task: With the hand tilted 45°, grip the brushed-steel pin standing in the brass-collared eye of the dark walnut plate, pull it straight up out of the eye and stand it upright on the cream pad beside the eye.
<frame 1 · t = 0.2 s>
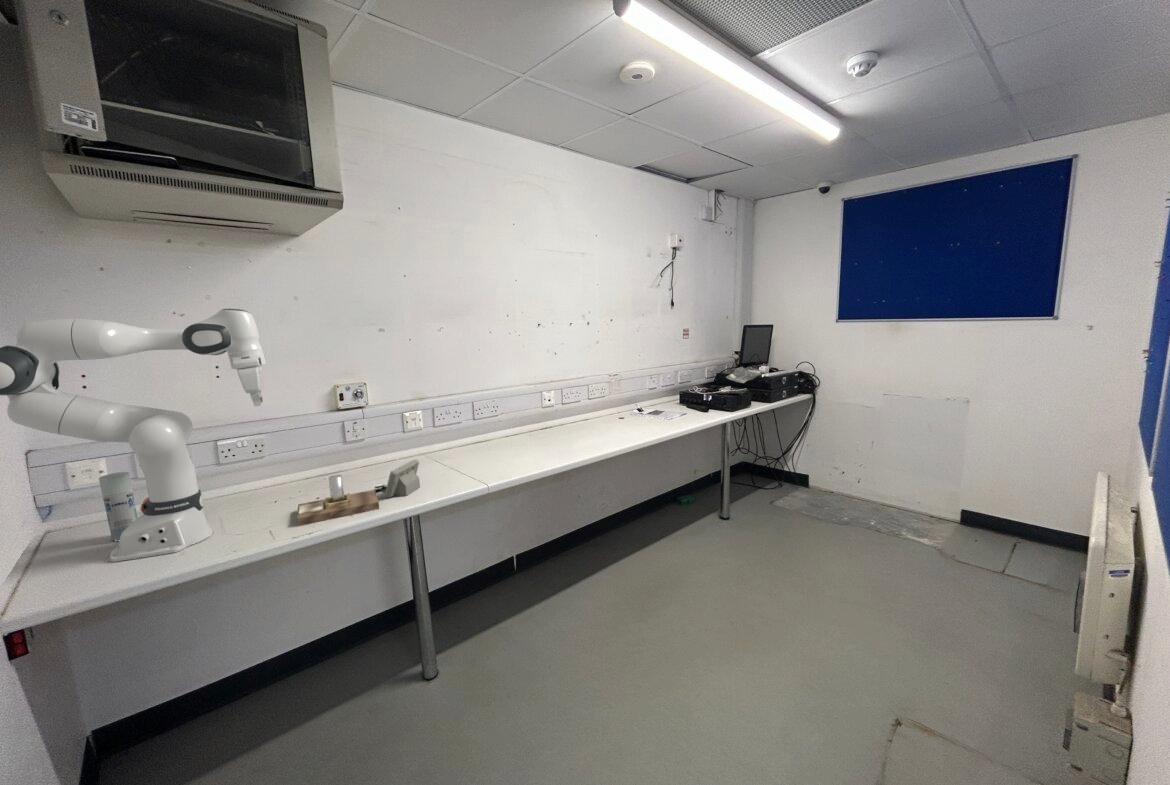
hand: (258, 404, 143), 39 cm above the table, tool pointing down, fingers open, 8 cm apart
digital clock: (403, 491, 173), on the table
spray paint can: (126, 537, 141), on the table
steel pin: (339, 510, 157), resting in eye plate
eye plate: (339, 509, 157), on the table
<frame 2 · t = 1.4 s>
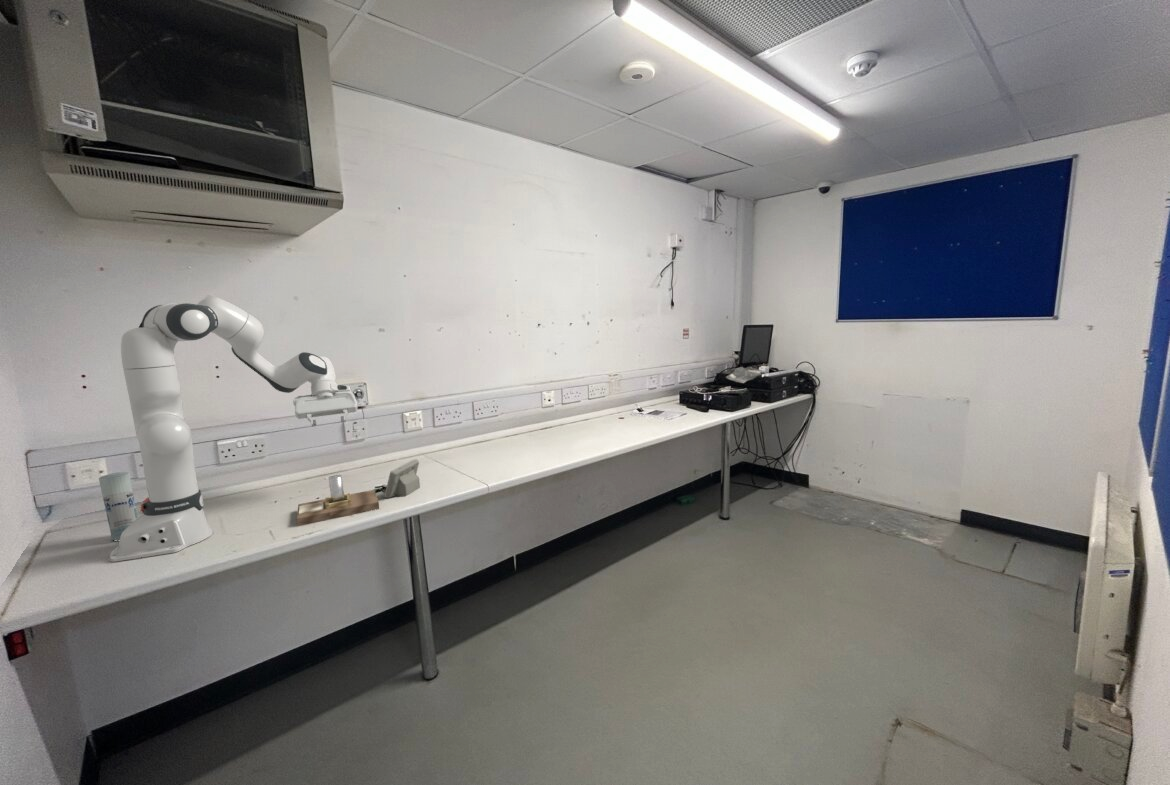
hand: (328, 423, 165), 28 cm above the table, tool tilted 45°, fingers open, 8 cm apart
nothing on the table moved.
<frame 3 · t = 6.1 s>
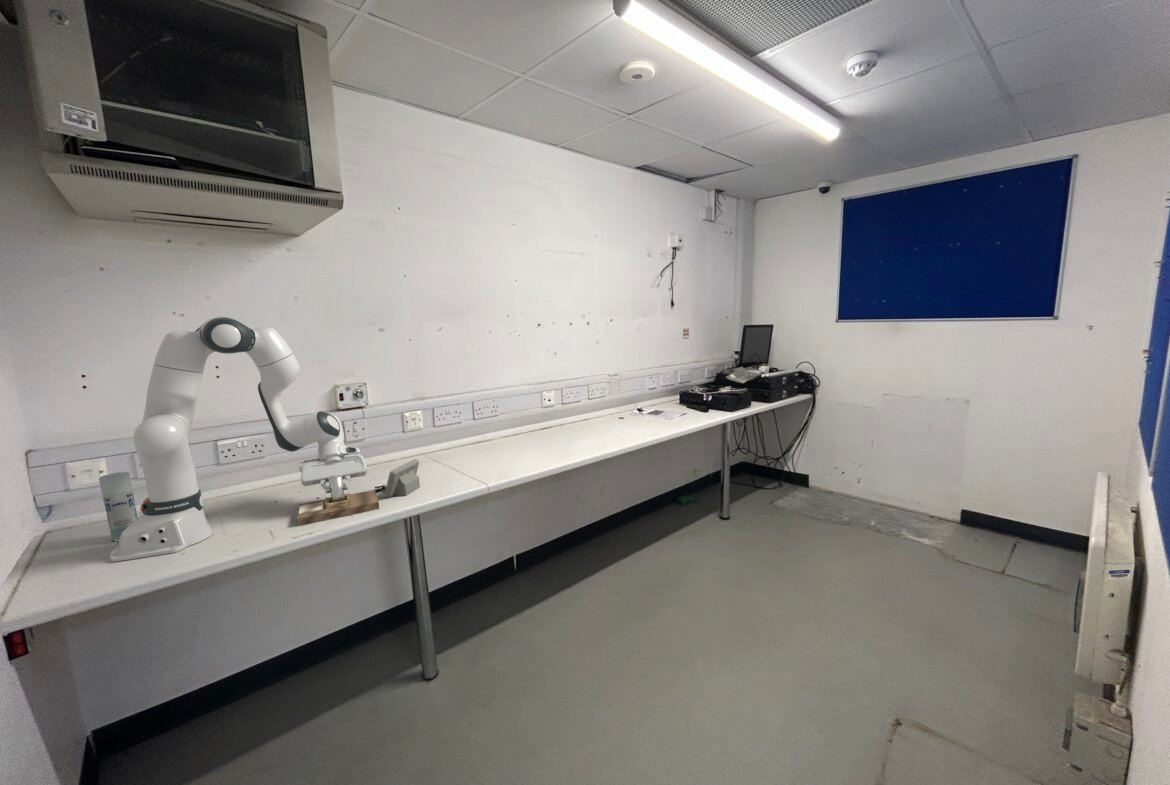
hand: (336, 490, 155), 7 cm above the table, tool tilted 45°, fingers closed on steel pin, 4 cm apart
steel pin: (339, 510, 157), resting in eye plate, touching gripper
everything else where it was.
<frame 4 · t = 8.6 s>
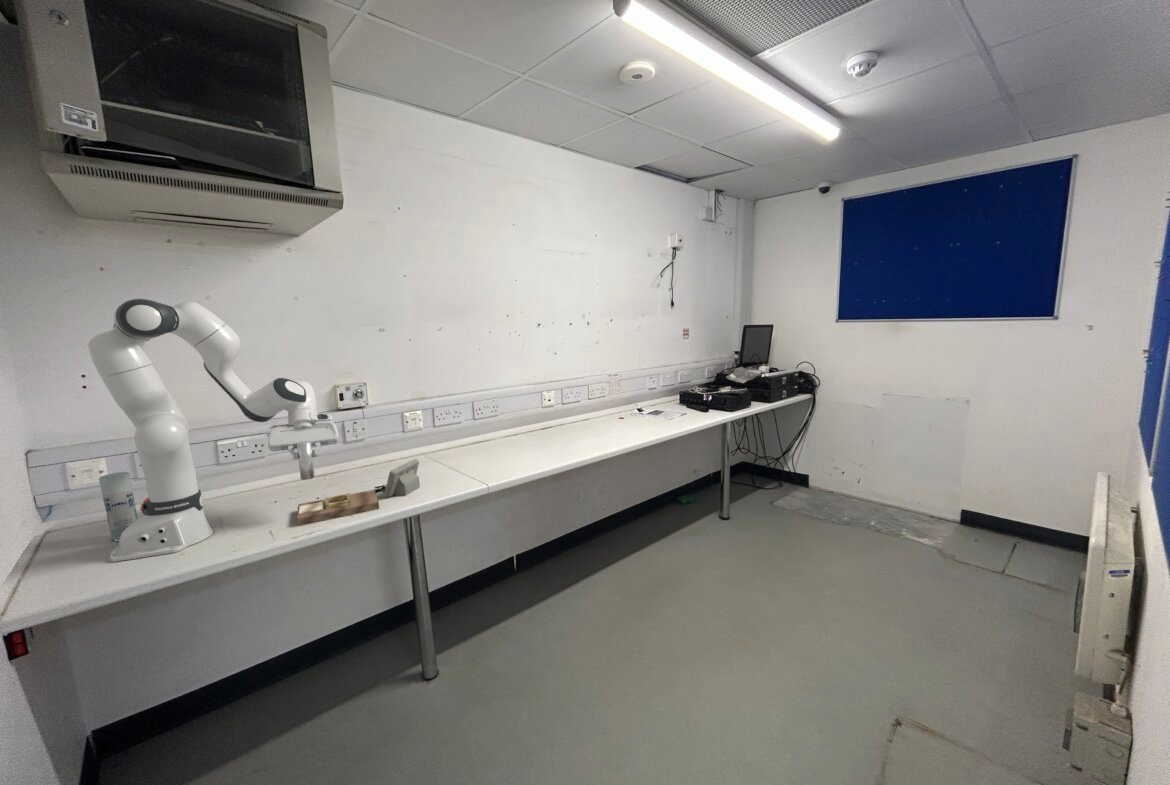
hand: (305, 457, 149), 21 cm above the table, tool tilted 45°, fingers closed on steel pin, 4 cm apart
steel pin: (307, 477, 151), point 13 cm above the table, touching gripper
everything else where it was.
when the fingers open (12 cm above the table, at t = 11.4 s): steel pin drops 1 cm, resting on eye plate.
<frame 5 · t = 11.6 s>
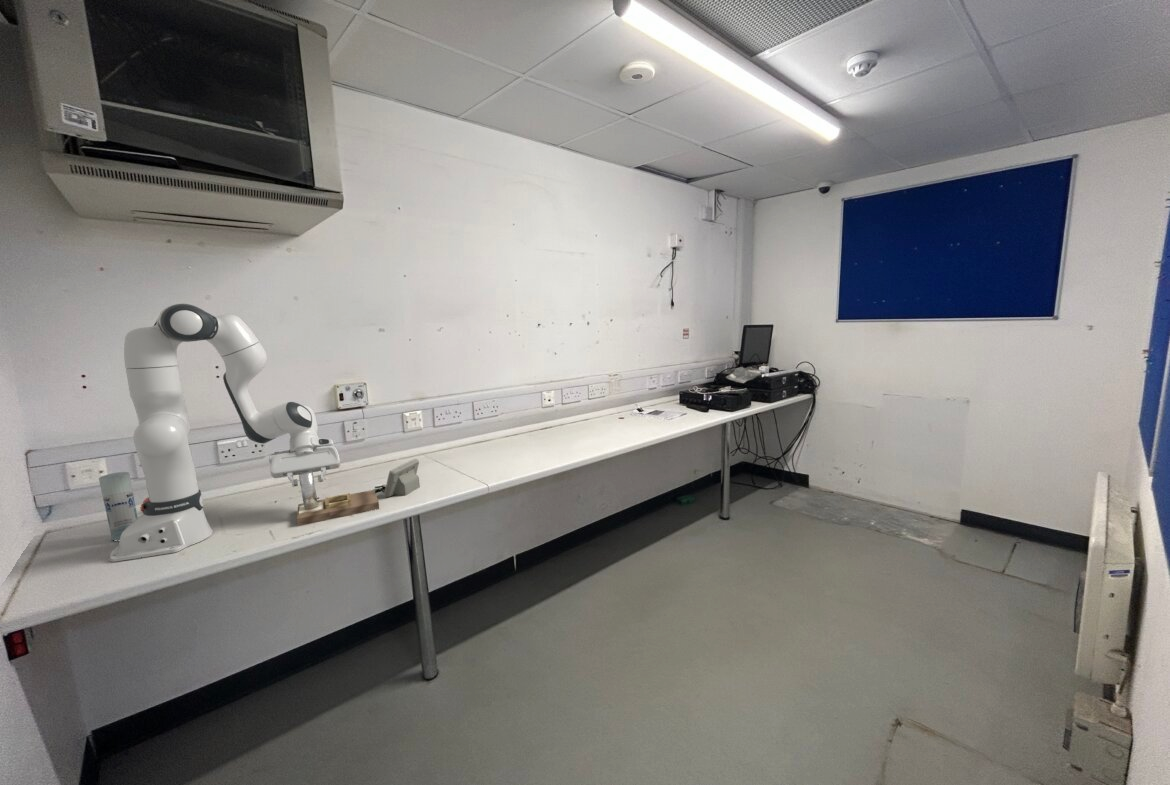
hand: (308, 483, 150), 12 cm above the table, tool tilted 45°, fingers open, 6 cm apart
steel pin: (311, 507, 152), point 3 cm above the table, touching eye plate
everything else where it was.
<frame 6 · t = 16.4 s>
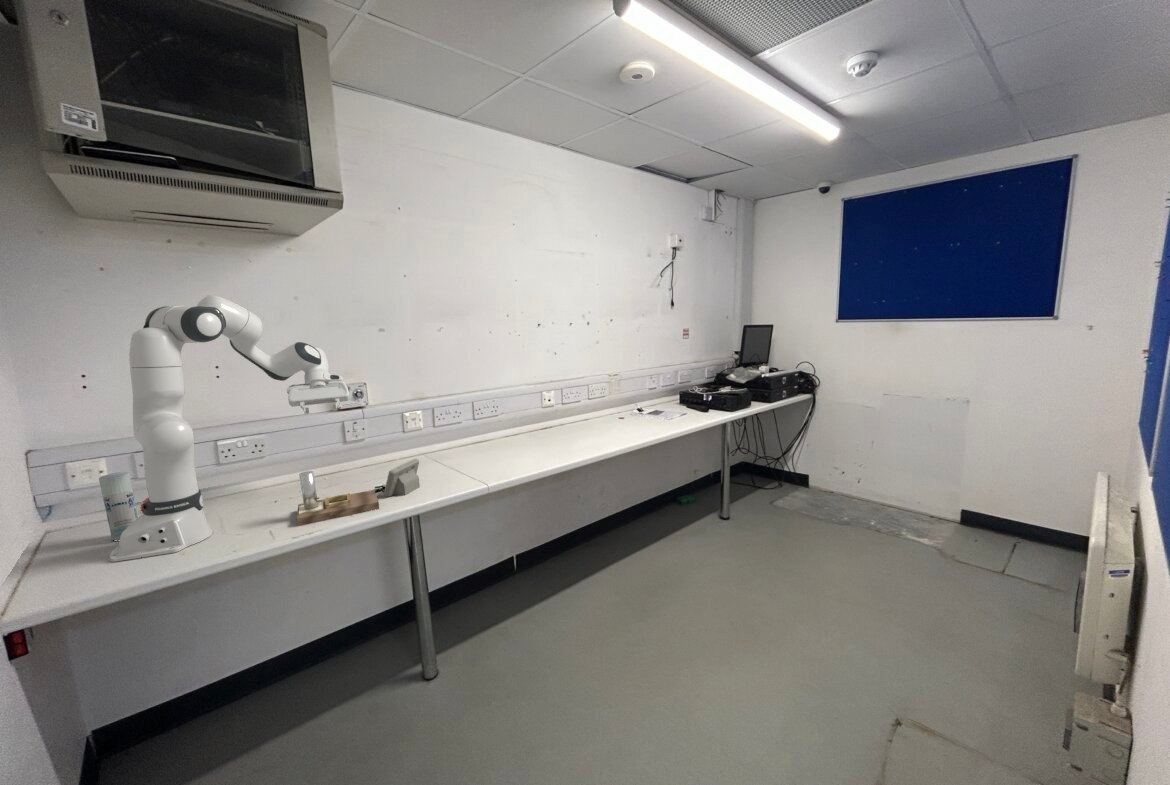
hand: (321, 411, 171), 31 cm above the table, tool tilted 45°, fingers open, 8 cm apart
at the end: steel pin 0.0 cm from the target spot on the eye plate, point 2.9 cm above the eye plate's base; steel pin tilted 1°; the gripper is holding nothing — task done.
